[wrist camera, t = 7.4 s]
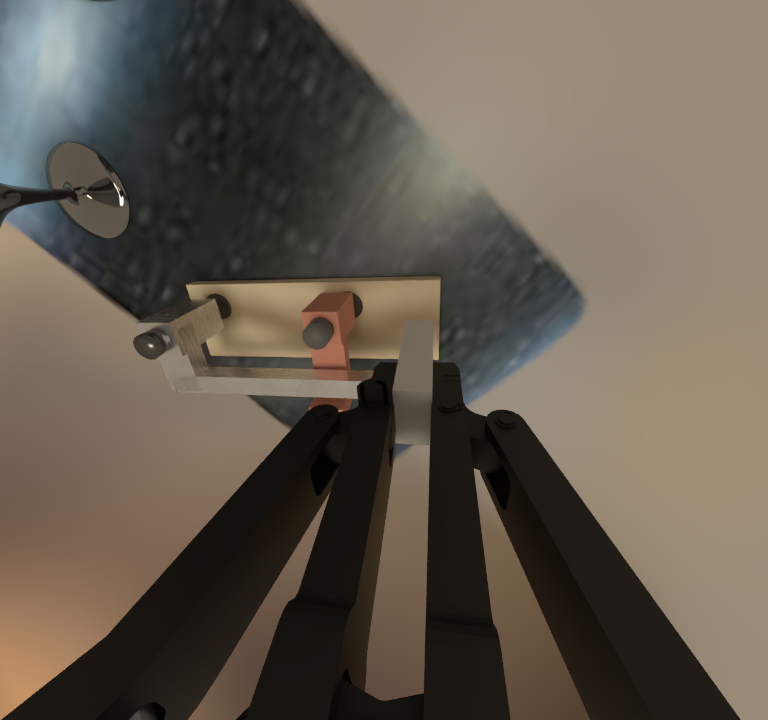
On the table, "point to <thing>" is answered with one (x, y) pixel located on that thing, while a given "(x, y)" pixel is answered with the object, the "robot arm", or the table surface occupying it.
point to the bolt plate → (290, 296)
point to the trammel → (191, 372)
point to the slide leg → (329, 337)
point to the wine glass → (77, 191)
